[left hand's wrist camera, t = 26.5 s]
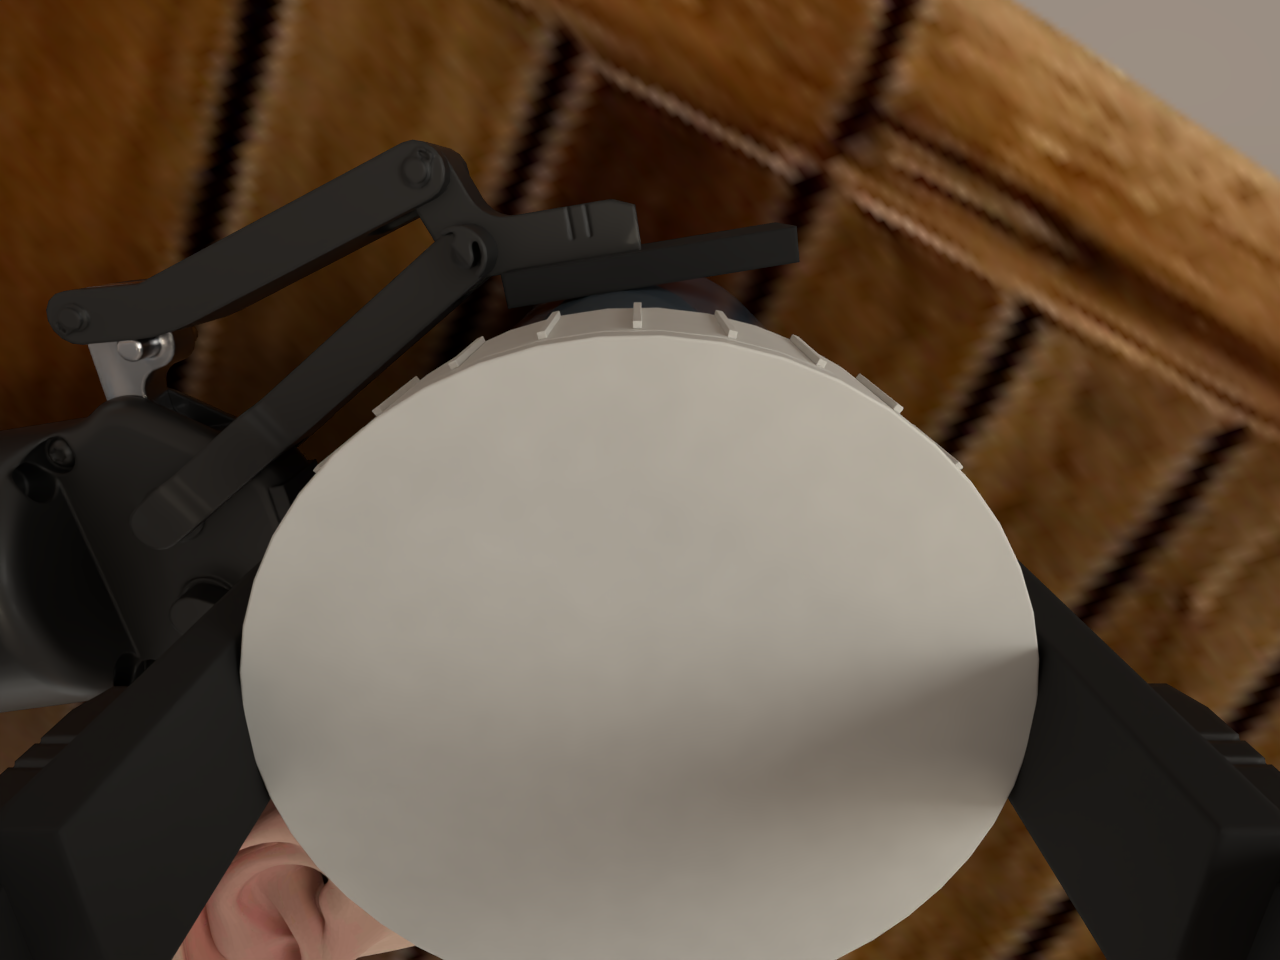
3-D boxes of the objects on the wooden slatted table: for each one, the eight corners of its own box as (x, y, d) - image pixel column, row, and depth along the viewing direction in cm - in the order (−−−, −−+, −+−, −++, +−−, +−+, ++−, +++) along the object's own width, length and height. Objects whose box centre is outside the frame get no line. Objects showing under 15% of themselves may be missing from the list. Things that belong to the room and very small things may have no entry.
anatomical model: (459, 821, 27) (504, 1038, 31) (481, 745, 30) (519, 948, 34) (95, 842, 27) (186, 1054, 31) (161, 765, 31) (235, 963, 35)
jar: (844, 393, 26) (1112, 649, 11) (655, 590, 28) (672, 1005, 14) (619, 194, 23) (588, 186, 9) (438, 428, 26) (184, 718, 11)
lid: (945, 223, 10) (1030, 229, 8) (989, 831, 14) (1054, 950, 12) (196, 390, 11) (84, 438, 9) (428, 923, 15) (390, 1050, 13)
